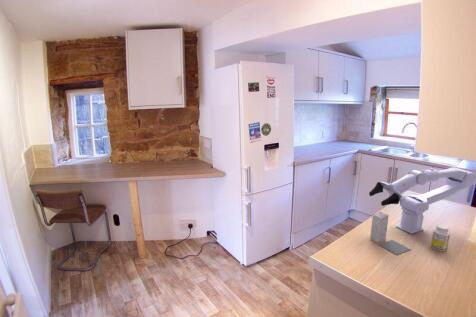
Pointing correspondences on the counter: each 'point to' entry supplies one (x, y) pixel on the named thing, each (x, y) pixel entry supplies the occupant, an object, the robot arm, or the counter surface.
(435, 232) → the supplement bottle
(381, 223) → the skincare box
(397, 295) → the counter surface
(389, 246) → the mat
